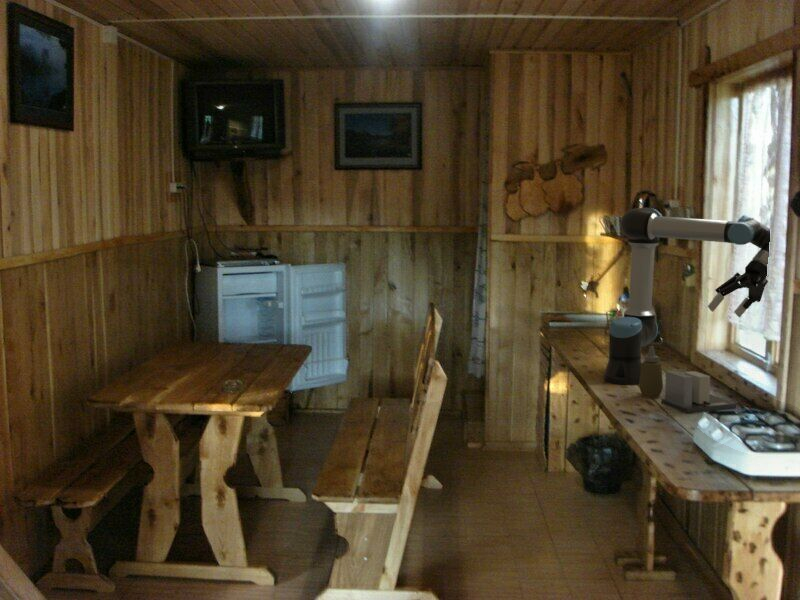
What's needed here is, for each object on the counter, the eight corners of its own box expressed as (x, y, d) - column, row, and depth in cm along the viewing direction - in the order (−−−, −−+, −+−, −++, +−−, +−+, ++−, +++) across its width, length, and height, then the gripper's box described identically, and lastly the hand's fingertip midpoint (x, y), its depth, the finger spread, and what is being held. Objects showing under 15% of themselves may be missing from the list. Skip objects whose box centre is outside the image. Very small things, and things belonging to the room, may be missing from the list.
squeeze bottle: (658, 393, 290) (659, 343, 288) (666, 399, 282) (667, 347, 280) (635, 393, 290) (636, 344, 287) (643, 399, 282) (644, 348, 279)
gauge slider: (676, 399, 275) (676, 372, 274) (693, 397, 277) (694, 371, 276) (696, 406, 265) (697, 379, 264) (714, 404, 267) (715, 377, 266)
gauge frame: (661, 403, 277) (662, 370, 275) (708, 397, 283) (709, 365, 281) (687, 413, 264) (688, 378, 262) (736, 408, 269) (737, 373, 268)
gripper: (793, 277, 273) (755, 324, 271) (741, 270, 297) (705, 313, 294) (781, 262, 271) (742, 309, 268) (730, 256, 294) (693, 300, 292)
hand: (723, 311), depth 281 cm, fingers open, 13 cm apart
